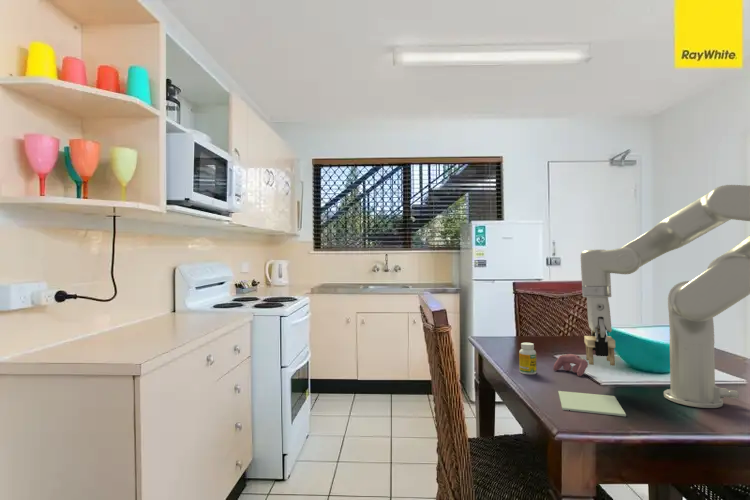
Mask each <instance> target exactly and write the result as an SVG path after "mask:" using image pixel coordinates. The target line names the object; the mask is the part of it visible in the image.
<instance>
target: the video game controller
mask: <svg viewBox="0 0 750 500" xmlns="http://www.w3.org/2000/svg"><path fill="white" fill-rule="evenodd" d="M571 364H573V366H572V365H571ZM588 366H589V361H588V360H586V359H585V358H584V357H582V356H580V355H577V354H572V353H567V354H566V353H565V354H564V353H562V354H561V355H559V357H558V358H557V359H556V361H555V362H554V364H553V370H554V371H558V370H560V369H561V368H562V367H563V370H564V371H565V372H570V371H571V370H572V372H573V373H575V374H577V376H578V377H582V376H583V375H584V374H585V371H586V369H587V368H588Z"/></svg>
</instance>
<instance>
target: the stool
mask: <svg viewBox="0 0 750 500" xmlns="http://www.w3.org/2000/svg"><path fill="white" fill-rule="evenodd" d="M583 338H584V339H583V341H584V344H585V354H586V359H585V360H586V361H588V365H591V366H593V365H594V363H595V362H594V350H593V347H595V341H596V337H595V336H591V335H583ZM607 342H608V356H606V361H607V362H609V365H610V366H616V360H615V359H616V358H615V357H616V356H615V349H616V340H615V339H614V338H613V337H612V336H611V335H610V336H609V335H607Z"/></svg>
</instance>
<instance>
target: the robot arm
mask: <svg viewBox="0 0 750 500" xmlns="http://www.w3.org/2000/svg"><path fill="white" fill-rule="evenodd" d="M731 220H733V221H734V220H735V221H743V222H744V221H745V222H750V185H747V184H746V185H744V184H725V185H720V186H717V187H715V188H714V189H712V190H710V191H709V192H708V193H706V194H704V195H702V196H701V197H699V198H698V199H696V200H694V201H692V202H691V203H689V204H687V205H686V206H684V207H682V208H681V209H679V210H677V211H675V212H674V213H673V214H671V215H669V216H668V217H665V218H664V219H663V220H661V221H660V222H658V223H657V224H655V225H654V226H653V227H652V228H651V229H649V230H648V231H646V232H644V233H643V234H641V235H640V236H638V237H637V238H635V239H634V240H632V241H630V242H627V244H625V245H623V246H622V247H619V248H614V249H586V250H583V251H582V252H581V253H580V271H581V273H580V275H581V291H582V297H583V298H586V309H587V311H586V312H587V322H588V326H589V329H590V336H595V337H596V341H595V347H593V351H594V354H595V356H596V357H607V356H608V342H607V336H608V335H607V332H608V333H611V332H612V331H613V329H612V327H613V326H612V320H611V317H612V316H611V308H610V301H609V298H611V297H612V282H611V281H612V280H611V274H615V275H616V274H617V275H632V274H634V273H635V272H637V271H638V270H639V269H640V268H641V267H642V266H644V265H645V264H647V263H649V262H651V261H653V260H655V259H657V258H658V257H660V256H662V255H664V254H667V253H669V252H672V251H675V250H678V249H680V248H682V247H683V246H686V245H687V244H690V243H691V242H693V241H695V240H697V239H699V238H701V237H702V236H704V235H705V234H707V233H709V232H711V231H713V230H715V229H716V228H718V227H720V226H722V225H723V224H726V223H728V222H729V221H731ZM749 295H750V235H749V236H747V237H746V238H744V239H743V240H742V241H741V242H740V243H738V244H737V245H736V244H735V246H733V247H732V248H730V249H729V250H728V251H725V253H723V254H721V255H720V256H718V257H716V258H715V259H713V260H712V261H711V262H710V263H709V265H708V266H707V269H705V271H703V272H702V273H699V275H697V276H695V277H694V278H693V279H691V280H685V281H681V282H678V283H676V284H675V285H673V286H672V287H671V289H670V290H669V293H668V297H667V308H668V321H669V322H668V323H669V325H668V326H669V370H670V371H669V375H670V376H669V377H670V378H669V379H670V380H669V381H670V382H669V383H670V388H669V389H668V388H667V389H665V390H664V391H663V397H664V398H665V399H667V400H668V401H671V402H673V403H675V404H680V405H683V406H688V407H693V408H694V407H695V408H701V409H717V408H721V407H723V406H724V400H723V399H724V398H730V399H739V398H740V393H739V391H738V390H736V389H735V390H734V389H728V388H725V387H719V386H718V385H717V384H716V377H715V376H716V372H715V371H716V369H715V368H716V367H715V326H714V318H715V317H716V316H718V315H720V314H721V313H723V312H725V311H726V310H728V309H730V308H731V307H732V306H734V305H735V304H737V303H739V302H740V301H742V300H744V299H745V298H746V297H748V296H749Z"/></svg>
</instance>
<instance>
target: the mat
mask: <svg viewBox="0 0 750 500" xmlns="http://www.w3.org/2000/svg"><path fill="white" fill-rule="evenodd" d="M557 392H558V397H559V401H560V405H561V409H562V411H569V410H570V411H571V412H579V413H588V414H589V413H591V414H601V415H607V416H608V415H610V416H618V417H627V414H626V412H625V410H624V409H623V408H622V405H621V404H620V403H619V401H618V400H617V397H616V396H615V395H608V394H607V395H606V394H594V393H588V392H587V393H585V392H575V391H566V390H565V391H563V390H562V391H561V390H558V391H557ZM570 411H569V412H570Z"/></svg>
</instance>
